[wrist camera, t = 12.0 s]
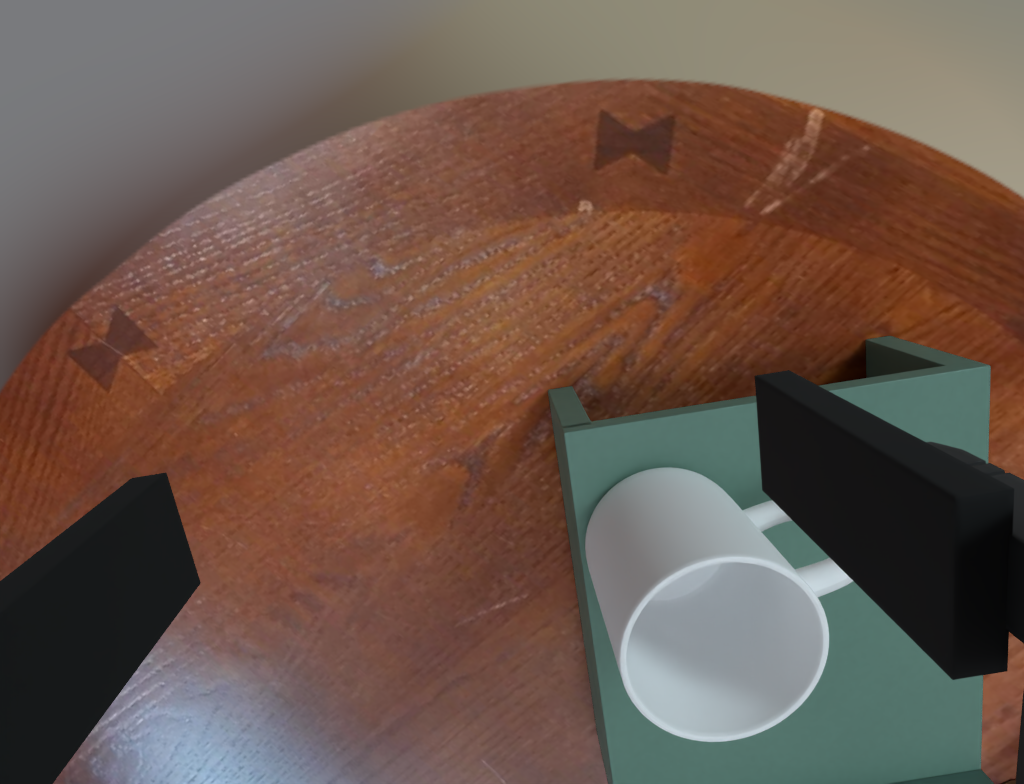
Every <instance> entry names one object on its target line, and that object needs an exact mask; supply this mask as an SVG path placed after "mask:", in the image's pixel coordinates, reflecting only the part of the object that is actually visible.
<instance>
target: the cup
mask: <svg viewBox="0 0 1024 784" xmlns="http://www.w3.org/2000/svg"><path fill="white" fill-rule="evenodd" d="M787 521H792V519H791V518H790V517H789V516H788V515H787V514H786V513H785V512H784V511H783V510H782V509H781V508H780V507H779V506H778V505H777V504H776V503H775V502H774V501H773V500H771V501H767V502H764V503H761V504H758V505H755V506H752V507H750V508H747V509H745V510H742V509H741V508H740V507H739V506H738V505H737V504H736V503H735V502H734V500H733V499H732V498H731V497H730V496H729V495H728V494H727V493H726V492H725V491H724V490H723V489H722V488H721V487H719V486H718V485H717V484H716V483H714V482H713V481H711V480H710V479H708V478H707V477H705V476H703V475H701V474H698V473H696V472H693V471H690V470H686V469H681V468H672V467H665V468H654V469H649V470H645V471H641V472H638V473H636V474H633V475H631V476H629V477H627V478H625V479H624V480H622V481H621V482H619V483H618V484H616V485H615V486H614V487H613V488H612V489H610V490H609V491H608V492H607V493H606V494H605V496H604V497H603V498H602V499H601V501H600V502H599V503H598V505H597V506H596V508H595V510H594V511H593V514H592V516H591V518H590V521H589V523H588V527H587V531H586V539H585V551H586V559H587V564H588V568H589V572H590V575H591V579H592V582H593V585H594V589H595V592H596V595H597V599H598V602H599V605H600V609H601V612H602V615H603V618H604V622H605V625H606V628H607V632H608V635H609V638H610V642H611V645H612V648H613V651H614V655H615V658H616V661H617V665H618V668H619V671H620V675H621V678H622V681H623V684H624V687H625V689H626V692H627V694H628V696H629V697H630V699H631V701H632V702H633V704H634V705H635V706H636V708H637V709H638V710H639V711H640V712H641V713H642V714H643V715H644V716H645V717H646V718H647V719H648V720H649V721H651V722H652V723H654V724H655V725H656V726H658V727H660V728H662V729H663V730H665V731H667V732H669V733H671V734H674V735H676V736H679V737H682V738H686V739H690V740H696V741H704V742H723V741H732V740H737V739H742V738H746V737H749V736H752V735H755V734H758V733H760V732H763V731H765V730H767V729H769V728H771V727H773V726H775V725H776V724H778V723H780V722H781V721H783V720H784V719H785V718H787V717H788V716H789V715H791V714H792V713H793V712H794V711H795V710H796V709H797V708H798V707H800V706H801V705H802V703H803V702H804V701H805V700H806V699H807V698H808V696H809V695H810V694H811V692H812V691H813V690H814V688H815V686H816V684H817V683H818V681H819V679H820V677H821V675H822V672H823V670H824V667H825V664H826V660H827V656H828V649H829V628H828V623H827V618H826V615H825V612H824V609H823V607H822V605H821V602H820V601H819V599H818V597H820V596H823V595H825V594H828V593H831V592H833V591H835V590H838V589H840V588H842V587H844V586H846V585H848V584H849V583H851V582H853V580H852V579H851V578H850V577H849V576H848V575H847V574H846V573H845V572H844V571H843V570H842V569H841V568H840V567H839V566H838V565H837V564H836V563H835V562H834V561H833V560H832V559H831V558H828V559H825V560H823V561H820V562H817V563H814V564H811V565H808V566H805V567H801V568H798V569H794V568H793V567H792V566H791V565H790V564H789V563H788V561H787V560H786V559H785V558H784V557H783V556H782V555H781V554H780V552H779V551H778V550H777V549H776V548H775V547H774V546H773V544H772V543H771V542H770V541H769V540H768V539H767V538H766V537H765V535H764V534H763V533H762V531H764V530H766V529H768V528H771V527H773V526H775V525H778V524H781V523H784V522H787Z"/></svg>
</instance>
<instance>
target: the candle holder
mask: <svg viewBox="0 0 1024 784" xmlns="http://www.w3.org/2000/svg"><path fill="white" fill-rule="evenodd" d="M1003 784H1016V780H1011V781H1009V782H1006V783H1003Z"/></svg>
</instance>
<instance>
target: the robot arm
mask: <svg viewBox="0 0 1024 784" xmlns="http://www.w3.org/2000/svg"><path fill="white" fill-rule="evenodd" d="M755 387H756V402H757V418H758V433H759V448H760V463H761V479H762V491H763V492H764V493H765V494H767V495H768V496H769V497H770V498H771V499H772V500H773V501H774V502H775V503H776V504H777V505H778V506H779V507H780V508H781V509H782V510H783V511H784V512H785V513H786V514H787V515H788V516H789V517H790V518H791V519H792V520H793V521H794V522H795V523H796V524H797V525H798V526H799V527H800V528H801V529H802V530H803V531H804V532H805V533H806V534H807V535H808V536H809V537H810V538H811V539H812V540H813V541H814V542H815V543H816V544H817V545H818V546H819V547H820V548H821V549H822V550H823V551H824V552H825V553H826V554H827V555H828V556H829V557H830V558H831V559H832V560H833V561H834V562H835V563H836V564H837V565H838V566H839V567H840V568H841V569H842V570H843V571H844V572H845V573H846V574H847V575H848V576H849V577H850V578H851V579H852V580H853V581H854V582H855V583H856V584H857V585H858V586H859V587H860V588H861V589H862V590H863V591H864V592H865V593H866V594H867V595H868V596H869V597H870V598H871V599H872V600H873V601H874V602H875V603H876V604H877V605H878V606H879V607H880V608H881V609H882V610H883V611H884V612H885V613H886V614H887V615H888V616H889V617H890V618H891V619H892V620H893V621H894V622H895V623H896V624H897V625H898V626H899V627H900V628H901V629H902V630H903V631H904V632H905V633H906V634H907V635H908V636H909V637H910V638H911V639H912V640H913V641H914V642H915V643H916V644H917V645H918V646H919V647H920V648H921V649H922V650H923V651H924V652H925V653H926V654H927V655H928V656H929V657H930V658H931V659H932V660H933V661H934V662H935V663H936V664H937V665H938V666H939V667H940V668H941V669H942V670H943V671H944V672H945V673H946V674H947V675H948V676H949V677H950V678H951V679H952V680H956V679H962V678H968V677H974V676H980V675H986V674H992V673H998V672H1004V671H1007V663H1008V637H1009V632H1010V633H1011V634H1013V635H1014V636H1015V637H1016V638H1018V639H1019V640H1020V641H1021V642H1023V643H1024V480H1023V479H1021V478H1019V477H1017V476H1015V475H1013V474H1011V473H1006V474H1005V471H1004V470H1003V469H1001V468H999V467H997V466H995V465H993V464H991V463H988V464H986V461H985V460H983V459H981V458H979V457H977V456H975V455H973V454H971V453H969V452H967V451H965V450H963V449H959V448H955V447H951V446H947V445H943V444H939V443H935V442H925V441H923V440H921V439H919V438H917V437H915V436H913V435H911V434H909V433H907V432H906V431H904V430H902V429H900V428H898V427H896V426H894V425H892V424H890V423H888V422H886V421H885V420H883V419H881V418H879V417H877V416H875V415H873V414H871V413H869V412H867V411H866V410H864V409H862V408H860V407H858V406H856V405H854V404H852V403H850V402H848V401H846V400H845V399H843V398H841V397H839V396H837V395H835V394H833V393H831V392H829V391H827V390H826V389H824V388H822V387H820V386H818V385H816V384H814V383H812V382H810V381H808V380H806V379H805V378H803V377H801V376H799V375H797V374H795V373H793V372H791V371H789V370H788V371H782V372H776V373H770V374H763V375H757V376H755ZM199 585H200V580H199V577H198V573H197V570H196V567H195V564H194V561H193V557H192V554H191V551H190V548H189V544H188V541H187V538H186V535H185V532H184V528H183V525H182V522H181V519H180V515H179V512H178V509H177V506H176V503H175V499H174V496H173V493H172V490H171V487H170V483H169V480H168V477H167V474H166V473H161V474H155V475H149V476H143V477H137V478H132V479H130V480H129V481H128V482H126V483H125V484H124V485H123V486H121V487H120V488H119V489H118V490H116V491H115V492H114V493H112V494H111V495H110V496H109V497H107V498H106V499H105V500H103V501H102V502H101V503H100V504H98V505H97V506H96V507H95V508H93V509H92V510H91V511H89V512H88V513H87V514H86V515H84V516H83V517H82V518H80V519H79V520H78V521H77V522H75V523H74V524H73V525H72V526H70V527H69V528H68V529H66V530H65V531H64V532H63V533H61V534H60V535H59V536H57V537H56V538H55V539H54V540H52V541H51V542H50V543H49V544H47V545H46V546H45V547H43V548H42V549H41V550H40V551H38V552H37V553H36V554H34V555H33V556H32V557H31V558H29V559H28V560H27V561H26V562H24V563H23V564H22V565H20V566H19V567H18V568H17V569H15V570H14V571H13V572H12V573H10V574H9V575H8V576H6V577H5V578H4V579H3V580H1V581H0V784H53V782H54V781H55V780H56V778H57V777H58V776H59V774H60V773H61V771H62V770H63V769H64V767H65V766H66V765H67V763H68V762H69V761H70V759H71V758H72V757H73V755H74V754H75V752H76V751H77V750H78V748H79V747H80V746H81V744H82V743H83V742H84V740H85V739H86V738H87V736H88V735H89V734H90V732H91V731H92V729H93V728H94V727H95V725H96V724H97V723H98V721H99V720H100V719H101V717H102V716H103V715H104V713H105V712H106V710H107V709H108V708H109V706H110V705H111V704H112V702H113V701H114V700H115V698H116V697H117V696H118V694H119V693H120V692H121V690H122V689H123V687H124V686H125V685H126V683H127V682H128V681H129V679H130V678H131V677H132V675H133V674H134V673H135V671H136V670H137V669H138V667H139V666H140V664H141V663H142V662H143V660H144V659H145V658H146V656H147V655H148V654H149V652H150V651H151V650H152V648H153V647H154V645H155V644H156V643H157V641H158V640H159V639H160V637H161V636H162V635H163V633H164V632H165V631H166V629H167V628H168V627H169V625H170V624H171V622H172V621H173V620H174V618H175V617H176V616H177V614H178V613H179V612H180V610H181V609H182V608H183V606H184V605H185V603H186V602H187V601H188V599H189V598H190V597H191V595H192V594H193V593H194V591H195V590H196V589H197V587H198V586H199ZM1016 784H1024V693H1023V704H1022V716H1021V727H1020V739H1019V750H1018V762H1017V773H1016Z"/></svg>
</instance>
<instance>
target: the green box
mask: <svg viewBox="0 0 1024 784" xmlns="http://www.w3.org/2000/svg"><path fill="white" fill-rule="evenodd" d="M819 386H820V387H822V388H824V389H826V390H827V391H829V392H831V393H833V394H835V395H837V396H839V397H841V398H843V399H845V400H846V401H848V402H850V403H852V404H854V405H856V406H858V407H860V408H862V409H864V410H866V411H867V412H869V413H871V414H873V415H875V416H877V417H879V418H881V419H883V420H885V421H886V422H888V423H890V424H892V425H894V426H896V427H898V428H900V429H902V430H904V431H906V432H907V433H909V434H911V435H913V436H915V437H917V438H919V439H921V440H923V441H925V442H935V443H939V444H943V445H947V446H951V447H955V448H959V449H963V450H965V451H967V452H969V453H971V454H973V455H975V456H977V457H979V458H981V459H983V460H985V461H986V464H988V449H989V408H990V365H987V364H983V363H980V362H977V361H973V360H970V359H966V358H963V357H960V356H956V355H953V354H950V353H946V352H943V351H939V350H936V349H933V348H929V347H926V346H922V345H919V344H916V343H912V342H909V341H906V340H902V339H899V338H895V337H892V336H885V337H879V338H873V339H866V378H864V379H857V380H851V381H845V382H838V383H832V384H826V385H819ZM548 396H549V403H550V410H551V417H552V424H553V431H554V438H555V445H556V452H557V459H558V465H559V472H560V479H561V486H562V493H563V500H564V507H565V514H566V521H567V528H568V535H569V542H570V549H571V556H572V563H573V570H574V577H575V584H576V591H577V598H578V604H579V611H580V618H581V625H582V632H583V639H584V646H585V653H586V660H587V667H588V674H589V681H590V688H591V695H592V702H593V709H594V716H595V723H596V730H597V735H598V739H599V744H600V748H601V753H602V757H603V762H604V766H605V771H606V775H607V780H608V784H994V783H993V782H992V781H991V780H990V778H989V777H988V776H987V775H986V774H985V773H984V772H983V771H982V770H981V740H982V698H983V675H980V676H974V677H968V678H962V679H956V680H952V679H951V678H950V677H949V676H948V675H947V674H946V673H945V672H944V671H943V670H942V669H941V668H940V667H939V666H938V665H937V664H936V663H935V662H934V661H933V660H932V659H931V658H930V657H929V656H928V655H927V654H926V653H925V652H924V651H923V650H922V649H921V648H920V647H919V646H918V645H917V644H916V643H915V642H914V641H913V640H912V639H911V638H910V637H909V636H908V635H907V634H906V633H905V632H904V631H903V630H902V629H901V628H900V627H899V626H898V625H897V624H896V623H895V622H894V621H893V620H892V619H891V618H890V617H889V616H888V615H887V614H886V613H885V612H884V611H883V610H882V609H881V608H880V607H879V606H878V605H877V604H876V603H875V602H874V601H873V600H872V599H871V598H870V597H869V596H868V595H867V594H866V593H865V592H864V591H863V590H862V589H861V588H860V587H859V586H858V585H857V584H856V583H855V582H854V581H853V582H851V583H849V584H848V585H846V586H844V587H842V588H840V589H838V590H835V591H833V592H831V593H828V594H825V595H823V596H820V597H818V599H819V601H820V602H821V605H822V607H823V609H824V612H825V615H826V618H827V623H828V628H829V649H828V656H827V660H826V664H825V667H824V670H823V672H822V675H821V677H820V679H819V681H818V683H817V684H816V686H815V688H814V690H813V691H812V692H811V694H810V695H809V696H808V698H807V699H806V700H805V701H804V702H803V703H802V705H801V706H800V707H798V708H797V709H796V710H795V711H794V712H793V713H792V714H791V715H789V716H788V717H787V718H785V719H784V720H783V721H781V722H780V723H778V724H776V725H775V726H773V727H771V728H769V729H767V730H765V731H763V732H760V733H758V734H755V735H752V736H749V737H746V738H742V739H737V740H732V741H723V742H704V741H696V740H690V739H686V738H682V737H679V736H676V735H674V734H671V733H669V732H667V731H665V730H663V729H662V728H660V727H658V726H656V725H655V724H654V723H652V722H651V721H649V720H648V719H647V718H646V717H645V716H644V715H643V714H642V713H641V712H640V711H639V710H638V709H637V708H636V706H635V705H634V704H633V702H632V701H631V699H630V697H629V696H628V694H627V692H626V689H625V687H624V684H623V681H622V678H621V675H620V671H619V668H618V665H617V661H616V658H615V655H614V651H613V648H612V645H611V642H610V638H609V635H608V632H607V628H606V625H605V622H604V618H603V615H602V612H601V609H600V605H599V602H598V599H597V595H596V592H595V589H594V585H593V582H592V579H591V575H590V572H589V568H588V564H587V559H586V551H585V539H586V531H587V527H588V523H589V521H590V518H591V516H592V514H593V511H594V510H595V508H596V506H597V505H598V503H599V502H600V501H601V499H602V498H603V497H604V496H605V494H606V493H607V492H608V491H609V490H610V489H612V488H613V487H614V486H615V485H616V484H618V483H619V482H621V481H622V480H624V479H625V478H627V477H629V476H631V475H633V474H636V473H638V472H641V471H645V470H649V469H654V468H665V467H672V468H681V469H686V470H690V471H693V472H696V473H698V474H701V475H703V476H705V477H707V478H708V479H710V480H711V481H713V482H714V483H716V484H717V485H718V486H719V487H721V488H722V489H723V490H724V491H725V492H726V493H727V494H728V495H729V496H730V497H731V498H732V499H733V500H734V502H735V503H736V504H737V505H738V506H739V507H740V508H741V509H742V510H745V509H747V508H750V507H752V506H755V505H758V504H761V503H764V502H767V501H771V500H772V499H771V498H770V497H769V496H768V495H767V494H765V493H764V492H763V491H762V479H761V463H760V448H759V433H758V418H757V402H756V396H750V397H744V398H737V399H731V400H725V401H718V402H712V403H706V404H699V405H693V406H687V407H680V408H674V409H668V410H661V411H655V412H649V413H643V414H636V415H630V416H624V417H617V418H611V419H605V420H598V421H592V422H591V421H590V419H589V417H588V415H587V414H586V412H585V410H584V408H583V406H582V404H581V402H580V400H579V398H578V396H577V394H576V393H575V391H574V389H573V387H572V386H570V387H563V388H557V389H551V390H548ZM762 533H763V534H764V535H765V537H766V538H767V539H768V540H769V541H770V542H771V543H772V544H773V546H774V547H775V548H776V549H777V550H778V551H779V552H780V554H781V555H782V556H783V557H784V558H785V559H786V560H787V561H788V563H789V564H790V565H791V566H792V567H793V568H794V569H798V568H801V567H805V566H808V565H811V564H814V563H817V562H820V561H823V560H825V559H828V558H830V557H829V556H828V555H827V554H826V553H825V552H824V551H823V550H822V549H821V548H820V547H819V546H818V545H817V544H816V543H815V542H814V541H813V540H812V539H811V538H810V537H809V536H808V535H807V534H806V533H805V532H804V531H803V530H802V529H801V528H800V527H799V526H798V525H797V524H796V523H795V522H794V521H793V520H792V521H787V522H784V523H781V524H778V525H775V526H773V527H771V528H768V529H766V530H764V531H762Z"/></svg>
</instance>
